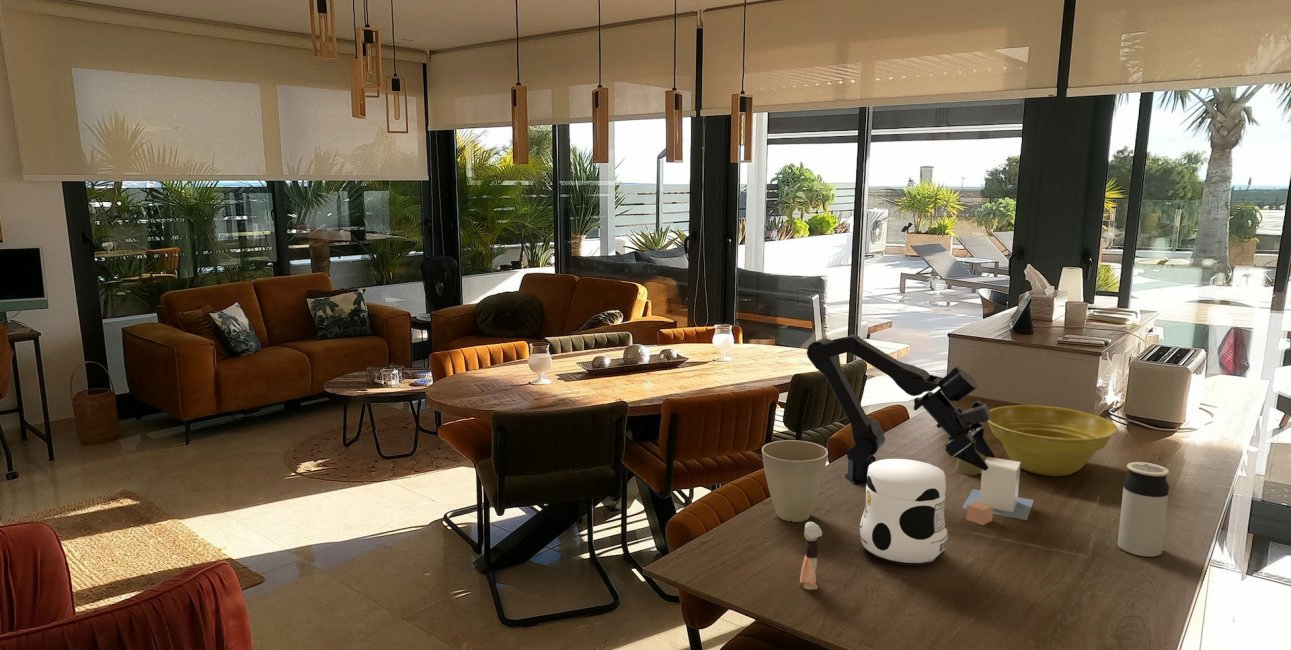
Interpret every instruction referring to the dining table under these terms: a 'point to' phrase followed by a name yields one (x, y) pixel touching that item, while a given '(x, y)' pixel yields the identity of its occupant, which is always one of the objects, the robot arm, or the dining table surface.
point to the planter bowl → (1049, 437)
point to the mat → (1019, 512)
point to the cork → (966, 468)
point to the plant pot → (794, 476)
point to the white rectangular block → (1000, 484)
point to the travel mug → (1143, 509)
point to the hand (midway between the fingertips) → (990, 463)
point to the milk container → (904, 512)
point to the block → (979, 513)
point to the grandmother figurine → (810, 556)
